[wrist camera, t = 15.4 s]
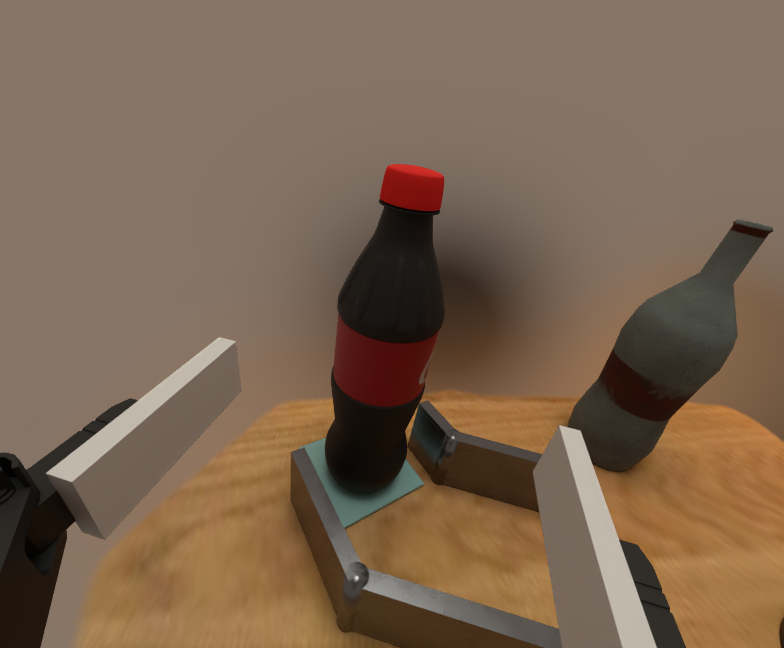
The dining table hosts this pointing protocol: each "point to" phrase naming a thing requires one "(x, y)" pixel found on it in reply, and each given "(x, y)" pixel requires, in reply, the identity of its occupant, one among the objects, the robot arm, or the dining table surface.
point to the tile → (355, 504)
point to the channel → (404, 598)
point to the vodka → (665, 356)
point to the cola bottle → (386, 334)
